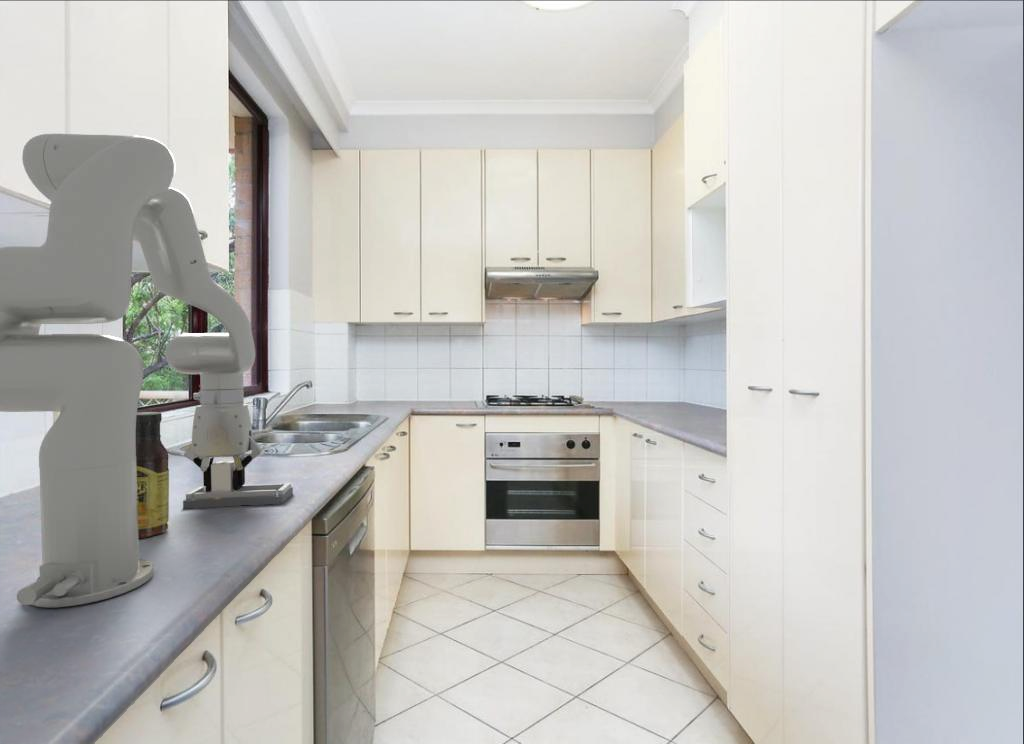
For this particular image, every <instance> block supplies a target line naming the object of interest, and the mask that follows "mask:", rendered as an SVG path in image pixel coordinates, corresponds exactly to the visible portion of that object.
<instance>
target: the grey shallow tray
mask: <svg viewBox="0 0 1024 744" xmlns="http://www.w3.org/2000/svg"><path fill="white" fill-rule="evenodd" d="M292 495H294V487H293V486H292V483H291V482H289V483H288V482H287V483H285V484H284V483H266V484H265V483H264V484H262V483H261V484H244V485H243V487H242V488H240V489H239V490H237V491H230V492H212V490H211V491H209V492H206V486H198V487H196V488H194V489H193V490H191V491H189V492H187V493H185V499H184V500H183V501H182V508H184V509H201V508H205V507H206V508H221V507H222V508H224V506H229V507H242V506H241V505H252V506H265V505H264V504H274V505H283V504H284V503H285V502H286V501H287V500H289V498H290V497H291V496H292ZM284 501H285V502H284ZM283 502H284V503H283ZM282 503H283V504H282Z"/></svg>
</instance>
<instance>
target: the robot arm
mask: <svg viewBox="0 0 1024 744" xmlns="http://www.w3.org/2000/svg"><path fill="white" fill-rule="evenodd" d="M21 159H22V164H23V168H24V170H25V173H26V175H27V177H28V179H29V180H30V181H31V183H32V184H33V186H34V187H35V188H36V189H37V190H38V192H40V193H41V194H42V195H43V196H44V197H45V198H46V199H47V200H48V201H50V205H49V211H48V212H49V213H48V223H47V232H46V238H45V242H44V243H43V244H42V245H41V246H20V245H19V246H18V245H17V246H4V247H3V246H2V247H0V412H3V413H5V412H6V413H27V412H28V413H30V412H31V413H32V412H33V413H34V412H35V413H36V412H37V413H38V412H41V413H42V412H43V413H45V412H53V413H54V412H55V413H59V415H58V416H57V418H56V420H55V421H54V422H53V424H52V425H51V427H50V428H49V429H48V431H47V432H46V433H45V436H44V437H43V440H42V441H41V445H40V447H39V452H38V468H39V493H40V494H39V495H40V521H41V522H40V524H41V525H40V527H41V554H42V555H41V556H42V565H39V576H38V577H37V578H36V580H35V581H33V582H32V583H30V584H27V585H26V586H25V587H23V588H21V589H20V590H18V591H17V594H16V600H17V602H18V603H19V604H21V605H23V606H25V605H26V606H29V605H30V606H34V607H38V608H47V609H49V608H53V609H54V608H65V607H66V608H67V607H73V606H81V605H86V604H87V605H88V604H91V603H96V602H99V601H103V600H107V599H111V598H113V597H116V596H119V595H122V594H125V593H128V592H130V591H132V590H135V589H137V588H139V587H141V586H142V585H144V584H145V583H147V582H148V581H149V580H151V578H152V577H153V576H154V564H153V563H152V562H151V561H149V560H147V559H143V558H140V552H139V551H140V548H139V546H140V545H139V538H138V505H137V469H136V416H137V413H138V406H139V399H140V395H141V389H142V385H143V378H144V361H143V359H142V356H141V353H140V352H139V351H138V349H137V348H136V347H135V346H134V345H133V344H131V343H130V342H129V341H127V340H124V339H122V338H119V337H116V336H111V335H106V334H100V333H98V334H97V333H52V334H40V329H41V326H42V325H88V324H89V325H91V324H105V323H107V324H108V323H111V322H112V323H113V322H115V321H118V320H120V319H122V318H123V317H124V316H125V315H126V314H127V312H128V311H129V307H130V305H131V304H130V303H131V298H132V297H131V295H132V279H133V278H132V277H133V276H132V275H133V274H132V273H133V249H134V247H133V246H134V244H133V243H134V241H138V243H139V244H140V246H141V249H142V253H143V257H144V259H145V262H146V265H147V268H148V271H149V274H150V278H151V280H152V285H153V286H154V288H155V289H156V290H157V291H158V292H160V293H162V295H165V296H168V297H170V298H173V299H174V300H177V301H180V302H183V303H185V304H187V305H190V306H193V307H195V308H197V309H199V310H202V311H203V312H206V313H207V314H209V315H210V316H212V317H213V318H215V319H216V320H217V321H218V322H220V324H221V325H222V326H223V327H224V329H225V330H226V332H204V333H202V332H201V333H200V332H199V333H196V332H195V333H190V332H189V333H181V334H179V335H176V336H174V337H173V338H171V339H170V340H169V341H168V342H167V345H166V347H165V359H166V362H167V364H168V366H169V367H170V368H171V369H172V370H174V371H175V372H177V373H181V374H183V375H199V377H200V378H199V379H200V389H199V391H198V392H194V393H193V396H192V398H193V400H195V401H196V400H197V401H199V404H200V405H196V406H195V410H194V415H193V423H192V432H191V444H190V445H189V446H188V448H187V449H186V451H185V452H184V453H183V456H184V457H185V458H187V459H188V460H189V461H192V462H193V463H194V464H195V465H196V466H197V467H198V468H199V469H200V471H201V472H202V473H203V474H202V475H203V479H202V481H203V487H206V492H209V491H211V490H212V486H211V465H212V464H214V463H215V458H216V457H217V458H218V457H232V458H233V461H234V463H235V466H236V467H235V470H234V471H233V488H234V490H239V489H240V488H242V487H243V485H246V484H245V483H246V471H245V469H246V467H248V465H249V464H250V463H251V462H252V461H253V460H254V459H256V458H257V457H258V456H260V455H261V454H262V453H263V449H262V448H261V447H260V446H259V444H258V443H257V442H256V441H255V439H254V438H253V437H254V436H253V427H252V420H251V414H250V410H249V407H248V404H247V403H244V373H246V372H248V371H249V370H250V369H252V367H253V366H254V363H255V360H256V347H255V343H254V342H255V341H254V337H253V333H252V328H251V324H250V321H249V318H248V315H247V313H246V312H245V310H244V308H243V307H242V306H241V305H240V303H239V302H238V301H237V300H236V299H235V298H234V296H232V294H230V292H228V290H226V289H225V288H223V287H222V286H221V285H220V284H219V283H217V282H216V281H215V280H214V279H213V278H212V276H211V274H210V271H209V268H208V267H209V266H208V264H207V263H208V262H207V260H206V256H205V252H204V248H203V243H202V240H201V237H200V231H199V229H198V226H197V221H196V218H195V214H194V210H193V205H192V204H191V201H190V200H189V198H188V197H187V196H186V194H185V193H183V192H182V191H180V190H178V189H176V188H173V187H171V186H172V183H173V180H174V177H175V172H176V162H175V158H174V154H173V153H172V152H171V150H170V149H169V148H168V147H167V146H166V145H165V144H164V143H163V142H160V141H159V140H157V139H155V138H151V137H148V136H141V135H140V136H139V135H119V134H118V135H116V134H114V135H113V134H78V133H77V134H75V133H44V134H43V133H42V134H38V135H36V136H33V137H32V138H30V139H29V140H28V141H27V142H26V144H24V146H23V150H22V158H21ZM250 451H251V453H249V454H248V455H245V453H248V452H250Z"/></svg>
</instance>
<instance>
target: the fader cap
mask: <svg viewBox="0 0 1024 744" xmlns="http://www.w3.org/2000/svg"><path fill="white" fill-rule="evenodd" d="M235 467H236V466H235V463H234V460H218V461H216V462H213V464H212V465H211V486H212V492H230V491H237V490H234V488H233V471H234V470H235Z"/></svg>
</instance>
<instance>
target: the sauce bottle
mask: <svg viewBox="0 0 1024 744" xmlns="http://www.w3.org/2000/svg"><path fill="white" fill-rule="evenodd" d="M162 420H163V419H162V412H159V411H141V412H139V411H138V412H137V416H136V469H137V505H138V539H145V538H149V537H154V536H157V535H160V534H163V533H165V532H166V531H167V530H168V527H169V524H168V522H169V517H170V516H169V514H170V513H169V511H170V509H169V505H170V503H169V502H170V501H169V498H170V495H169V493H170V492H169V491H170V469H169V452H168V449H167V448H166V447H165V446H164V444H163V443H162V439H161V436H162V435H161V422H162Z"/></svg>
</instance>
